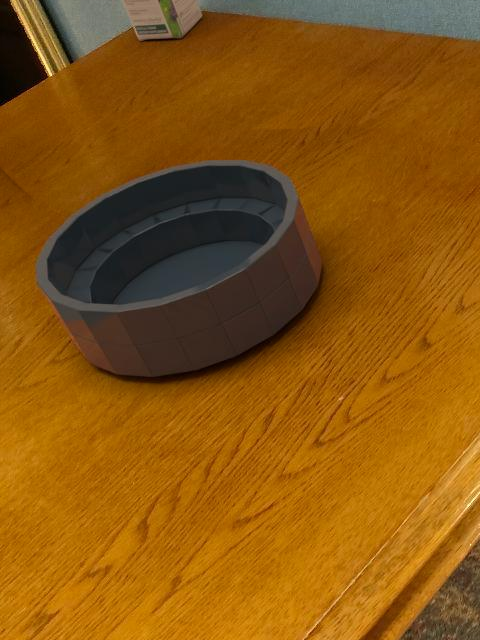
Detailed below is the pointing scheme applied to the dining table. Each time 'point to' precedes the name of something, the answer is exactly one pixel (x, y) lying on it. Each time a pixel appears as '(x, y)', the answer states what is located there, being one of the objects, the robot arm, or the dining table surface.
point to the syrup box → (162, 17)
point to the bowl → (181, 267)
